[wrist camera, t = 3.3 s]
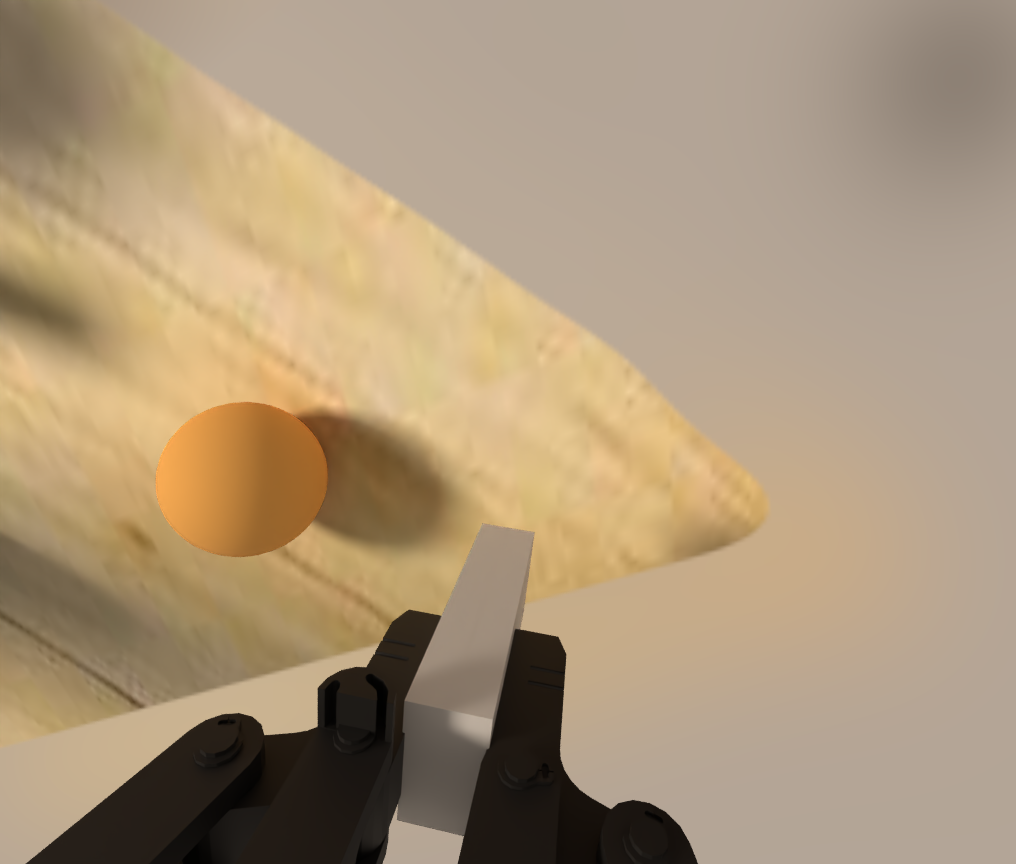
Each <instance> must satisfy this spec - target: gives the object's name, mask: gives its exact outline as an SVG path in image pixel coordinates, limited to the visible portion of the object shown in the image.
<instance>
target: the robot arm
mask: <svg viewBox="0 0 1016 864" xmlns="http://www.w3.org/2000/svg"><path fill="white" fill-rule="evenodd" d="M533 539H534V532H530V531H524V530H518V529H512V528H507V527H501V526H495V525H489V524H483V523H482V525H481V528H480V530H479V532H478V534H477V537H476V539H475V541H474V543H473V546H472V548H471V550H470V553H469V555H468V557H467V559H466V562H465V564H464V566H463V569H462V571H461V573H460V575H459V578H458V580H457V582H456V584H455V587H454V589H453V591H452V594H451V596H450V598H449V600H448V603H447V605H446V607H445V609H444V612H443V614H442V616H439V615H434V614H429V613H424V612H419V611H413V610H408V611H406V612H405V613H404V614H402V615H401V616H400V617H398V618H397V619H396V620H394V621H393V622H392V624H391V625H390V627H389V629H388V630H387V632H386V634H385V636H384V637H383V641H381V643H380V644H379V646H378V648H377V650H376V652H375V655H373V657H372V658H371V660H370V662H369V664H368V665H367V667H354V668H350V669H345V670H341V671H339V672H337V673H335V674H334V675H332V676H330V677H328V678H327V679H326V680H325V681H324V682H323V683H322V684H321V685H320V686H319V687H318V727H316V728H314V729H311V730H308V731H303V732H297V733H288V734H275V735H264V733H263V729H262V726H261V724H260V723H259V722H257V720H256V719H254V718H253V717H251V716H248V715H244V714H240V713H236V714H223V715H220V716H217V717H214V718H211V719H208V720H205V721H204V722H202V723H200V724H199V725H197V726H196V727H194V728H193V729H191V730H190V731H188V732H187V733H186V734H184V735H183V736H182V737H181V738H180V739H179V740H177V741H176V742H175V743H173V744H172V745H171V746H170V747H169V748H167V749H166V750H165V751H164V752H162V753H161V754H160V755H159V756H158V757H156V758H155V759H154V760H153V761H151V762H150V763H149V764H148V765H146V766H145V767H144V768H143V769H142V770H140V771H139V772H138V773H137V774H136V775H134V776H133V777H132V778H130V779H129V780H128V781H127V782H126V783H124V784H123V785H122V786H121V787H119V788H118V789H117V790H116V791H115V792H113V793H112V794H111V795H110V796H108V797H107V798H106V799H105V800H103V801H102V802H101V803H100V804H99V805H97V806H96V807H95V808H94V809H92V810H91V811H90V812H89V813H88V814H86V815H85V816H84V817H83V818H82V819H80V820H79V821H78V822H77V823H75V824H74V825H73V826H72V827H70V828H69V829H68V830H67V831H65V832H64V833H63V834H62V835H61V836H59V837H58V838H57V839H56V840H54V841H53V842H52V843H51V844H49V845H48V846H47V847H46V848H45V849H43V850H42V851H41V852H40V853H38V854H37V855H36V856H35V857H33V858H32V859H31V860H30V861H29V862H27V863H26V864H382V863H383V860H384V858H385V855H386V849H387V844H388V834H389V826H390V823H391V820H392V818H393V815H394V812H395V809H396V807H397V804H398V813H397V814H398V815H397V820H399V821H403V822H407V823H411V824H416V825H420V826H424V827H428V828H432V829H436V830H441V831H445V832H449V833H453V834H458V835H462V836H464V839H463V843H462V848H461V852H460V856H459V861H458V864H698V863H697V860H696V858H695V855H694V852H693V850H692V848H691V845H690V843H689V841H688V839H687V837H686V836H685V834H684V832H683V831H682V829H681V827H680V826H679V825H678V824H677V823H676V822H675V821H674V820H673V819H672V818H671V817H670V816H669V815H668V814H667V813H666V812H665V811H663V810H661V809H659V808H657V807H656V806H654V805H652V804H650V803H646V802H641V801H635V800H631V801H626V802H622V803H618V804H617V805H616V806H615V807H613V808H612V809H609V808H608V807H606V806H604V805H602V804H601V803H599V802H597V801H596V800H594V799H592V798H590V797H589V796H587V795H586V794H585V793H583V792H582V791H580V790H579V789H578V787H577V786H576V785H575V784H574V783H573V782H572V781H571V780H570V778H569V777H568V775H567V774H566V772H565V770H564V767H563V764H562V762H561V757H560V739H561V724H562V711H563V695H564V691H563V690H564V680H565V666H566V653H565V650H564V648H563V646H562V644H561V642H560V640H559V637H556V636H551V635H546V634H540V633H535V632H530V631H525V630H520V627H521V622H522V617H523V612H524V604H525V597H526V590H527V583H528V576H529V568H530V561H531V554H532V547H533Z"/></svg>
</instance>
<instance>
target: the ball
mask: <svg viewBox="0 0 1016 864" xmlns="http://www.w3.org/2000/svg"><path fill="white" fill-rule="evenodd" d="M327 483H328V470H327V463H326V458H325V455H324V452H323V450H322V448H321V446H320V444H319V442H318V440H317V439H316V437H315V436H314V434H313V433H312V432H311V431H310V429H309V428H308V427H307V426H306V425H305V424H304V423H302V422H301V421H300V420H299V419H297V418H296V417H294V416H293V415H291V414H289V413H287V412H285V411H283V410H281V409H279V408H276V407H273V406H270V405H265V404H260V403H252V402H241V403H230V404H225V405H221V406H217V407H214V408H211V409H208V410H206V411H204V412H202V413H200V414H198V415H197V416H195V417H193V418H192V419H190V420H189V421H188V422H186V423H185V424H184V425H183V426H181V427H180V428H179V430H178V431H177V432H176V433H175V434H174V435H173V436H172V437H171V439H170V440H169V442H168V443H167V445H166V447H165V448H164V450H163V452H162V455H161V457H160V460H159V464H158V468H157V472H156V493H157V499H158V502H159V506H160V508H161V510H162V513H163V514H164V516H165V518H166V520H167V521H168V523H169V524H170V525H171V527H172V528H173V529H174V530H175V531H176V532H177V533H178V534H179V535H180V536H181V537H182V538H184V539H185V540H186V541H187V542H189V543H191V544H192V545H194V546H196V547H198V548H200V549H202V550H205V551H208V552H210V553H213V554H217V555H223V556H231V557H246V556H254V555H259V554H263V553H266V552H270V551H273V550H275V549H277V548H280V547H282V546H284V545H286V544H287V543H289V542H290V541H292V540H293V539H295V538H296V537H297V536H299V535H300V534H301V533H302V532H303V531H304V530H305V529H306V528H307V527H308V526H309V525H310V523H311V522H312V521H313V520H314V518H315V517H316V515H317V513H318V511H319V510H320V508H321V506H322V503H323V501H324V498H325V494H326V490H327Z"/></svg>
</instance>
